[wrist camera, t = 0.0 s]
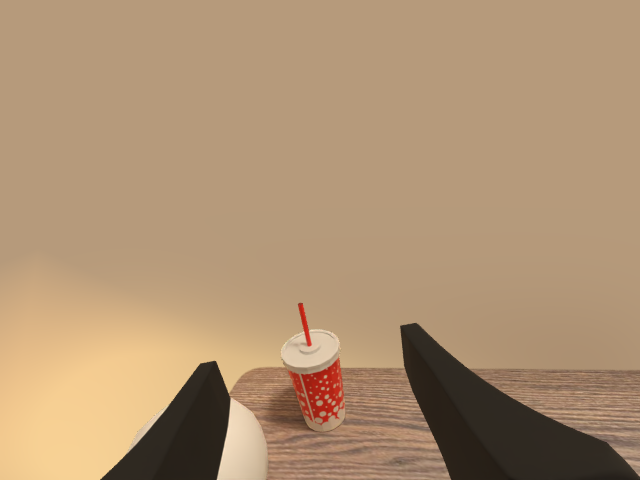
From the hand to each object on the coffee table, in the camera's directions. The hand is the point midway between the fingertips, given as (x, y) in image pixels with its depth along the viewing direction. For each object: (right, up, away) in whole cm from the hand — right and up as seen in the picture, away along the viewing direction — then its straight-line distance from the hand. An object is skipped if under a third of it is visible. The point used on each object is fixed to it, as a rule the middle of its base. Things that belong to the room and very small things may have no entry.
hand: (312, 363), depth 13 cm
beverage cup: (+1, -15, +25) cm, 29 cm away
